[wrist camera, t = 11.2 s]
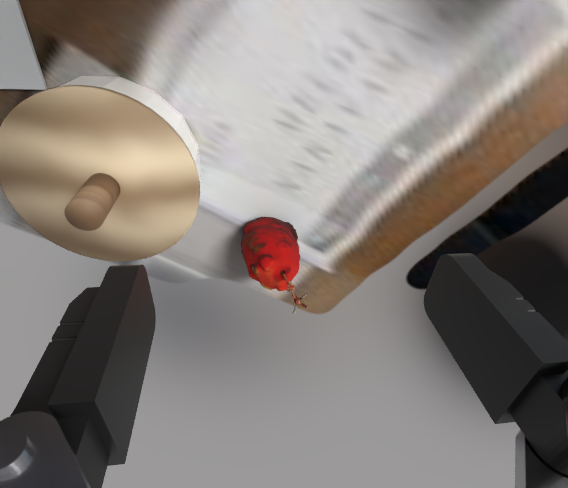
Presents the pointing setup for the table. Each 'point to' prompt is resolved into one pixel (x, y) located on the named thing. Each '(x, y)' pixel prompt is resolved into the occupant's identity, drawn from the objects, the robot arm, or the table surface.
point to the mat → (17, 51)
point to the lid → (98, 173)
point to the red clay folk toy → (272, 254)
